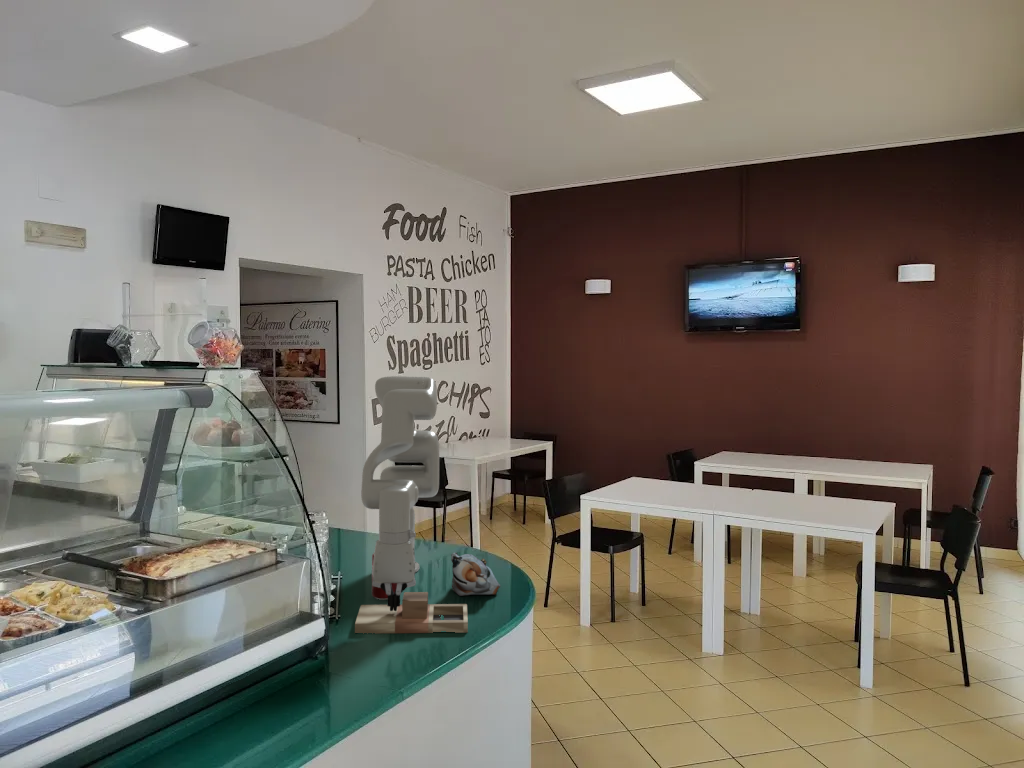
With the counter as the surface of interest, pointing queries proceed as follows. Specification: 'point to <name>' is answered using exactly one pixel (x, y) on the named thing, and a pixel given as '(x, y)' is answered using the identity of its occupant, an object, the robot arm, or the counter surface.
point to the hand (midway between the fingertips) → (393, 608)
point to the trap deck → (392, 622)
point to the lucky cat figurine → (472, 576)
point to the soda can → (379, 592)
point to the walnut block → (415, 605)
